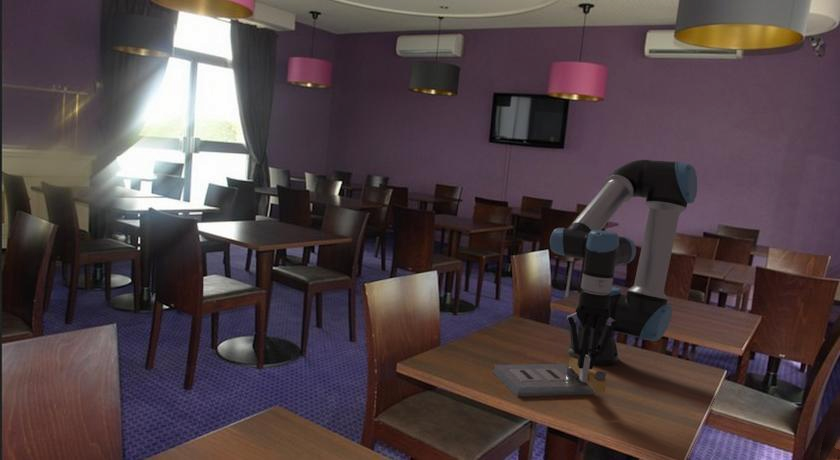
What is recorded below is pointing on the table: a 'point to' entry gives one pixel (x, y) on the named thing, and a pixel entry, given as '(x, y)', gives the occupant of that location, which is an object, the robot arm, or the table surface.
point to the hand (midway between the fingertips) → (583, 380)
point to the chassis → (542, 380)
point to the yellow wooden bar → (589, 374)
